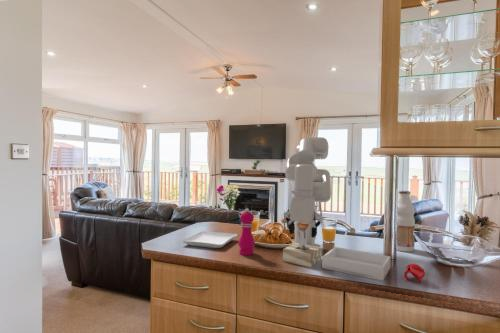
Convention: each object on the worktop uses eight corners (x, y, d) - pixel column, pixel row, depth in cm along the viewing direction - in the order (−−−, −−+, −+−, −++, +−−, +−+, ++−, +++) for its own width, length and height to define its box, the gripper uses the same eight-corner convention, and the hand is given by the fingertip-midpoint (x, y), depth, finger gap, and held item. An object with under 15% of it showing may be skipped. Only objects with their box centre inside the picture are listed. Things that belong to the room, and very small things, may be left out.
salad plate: (180, 247, 144) (181, 239, 144) (201, 236, 164) (201, 230, 164) (221, 251, 137) (222, 244, 137) (238, 240, 158) (238, 234, 158)
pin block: (295, 254, 135) (295, 242, 134) (321, 259, 128) (321, 247, 128) (282, 261, 124) (283, 249, 124) (310, 267, 118) (310, 254, 118)
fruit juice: (396, 251, 141) (398, 191, 140) (389, 246, 150) (390, 189, 150) (417, 252, 140) (419, 192, 140) (409, 247, 149) (410, 190, 149)
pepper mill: (252, 256, 130) (253, 210, 130) (236, 255, 132) (237, 209, 131) (255, 251, 137) (256, 207, 137) (240, 250, 139) (241, 206, 138)
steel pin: (299, 257, 130) (299, 222, 129) (309, 259, 127) (310, 223, 127) (294, 260, 126) (295, 224, 125) (305, 262, 123) (306, 225, 123)
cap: (423, 277, 101) (429, 265, 104) (405, 267, 104) (411, 256, 107) (417, 290, 105) (423, 277, 109) (400, 280, 109) (406, 269, 112)
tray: (334, 257, 131) (335, 246, 131) (390, 267, 119) (390, 256, 119) (322, 267, 117) (322, 256, 117) (383, 280, 105) (383, 267, 105)
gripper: (280, 193, 127) (279, 234, 127) (320, 196, 118) (319, 240, 118) (288, 192, 134) (287, 231, 133) (326, 194, 124) (325, 236, 124)
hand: (302, 235), depth 126 cm, fingers open, 9 cm apart
